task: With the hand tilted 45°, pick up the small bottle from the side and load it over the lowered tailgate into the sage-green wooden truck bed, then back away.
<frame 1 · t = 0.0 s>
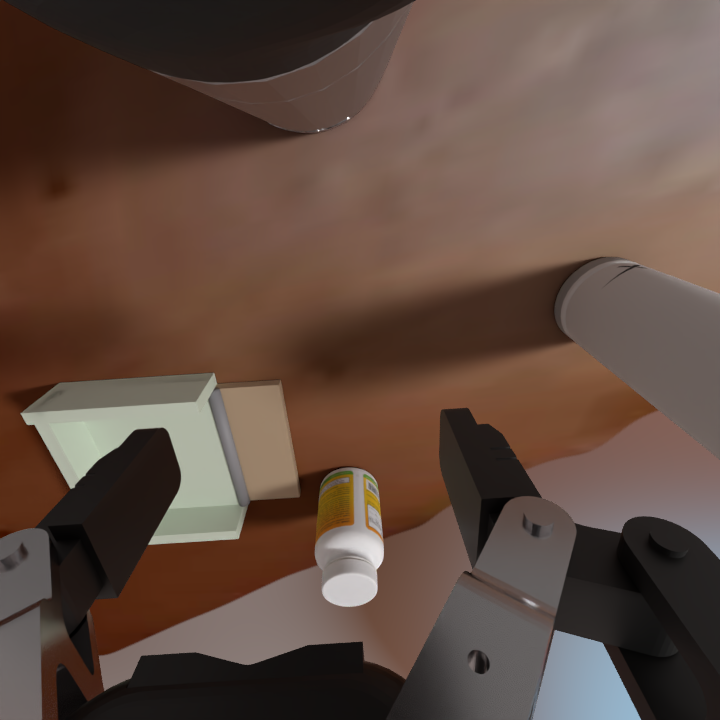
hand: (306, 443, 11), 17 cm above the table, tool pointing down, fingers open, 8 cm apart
travel mug: (593, 297, 28), on the table
truck bed: (169, 447, 33), on the table
supplement bottle: (349, 485, 36), on the table
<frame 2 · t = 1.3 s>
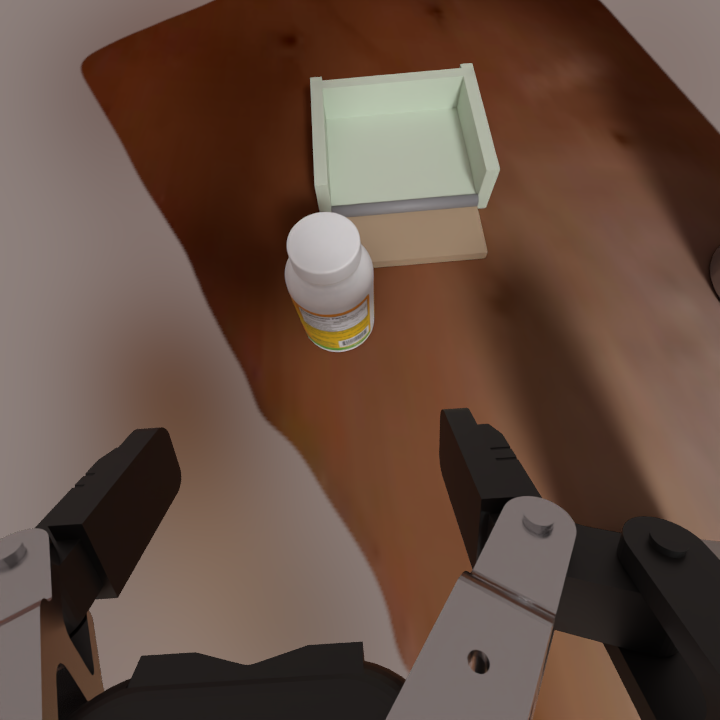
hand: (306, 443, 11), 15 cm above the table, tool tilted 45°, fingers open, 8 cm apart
truck bed: (396, 165, 35), on the table
supplement bottle: (339, 322, 30), on the table
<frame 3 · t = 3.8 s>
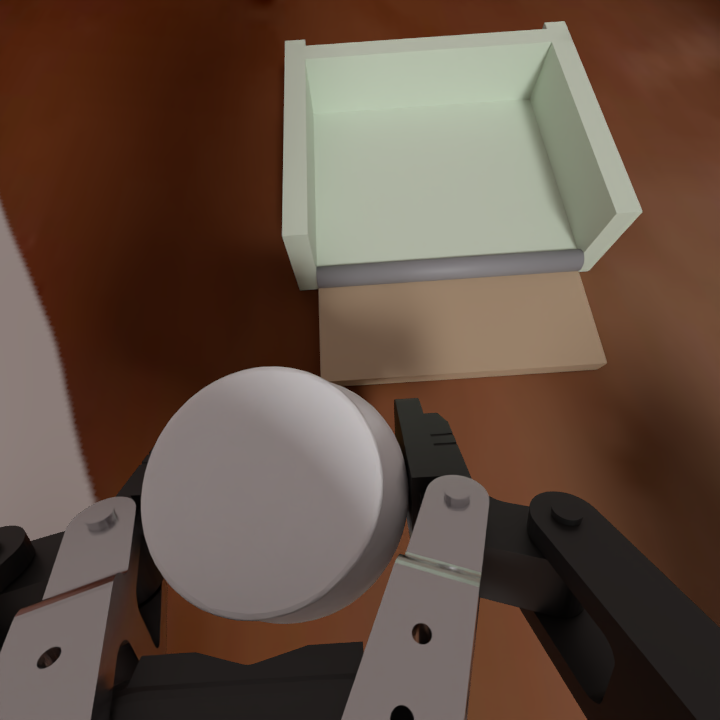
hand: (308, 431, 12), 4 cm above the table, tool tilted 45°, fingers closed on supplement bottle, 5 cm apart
truck bed: (429, 192, 21), on the table
supplement bottle: (326, 496, 15), on the table, touching gripper
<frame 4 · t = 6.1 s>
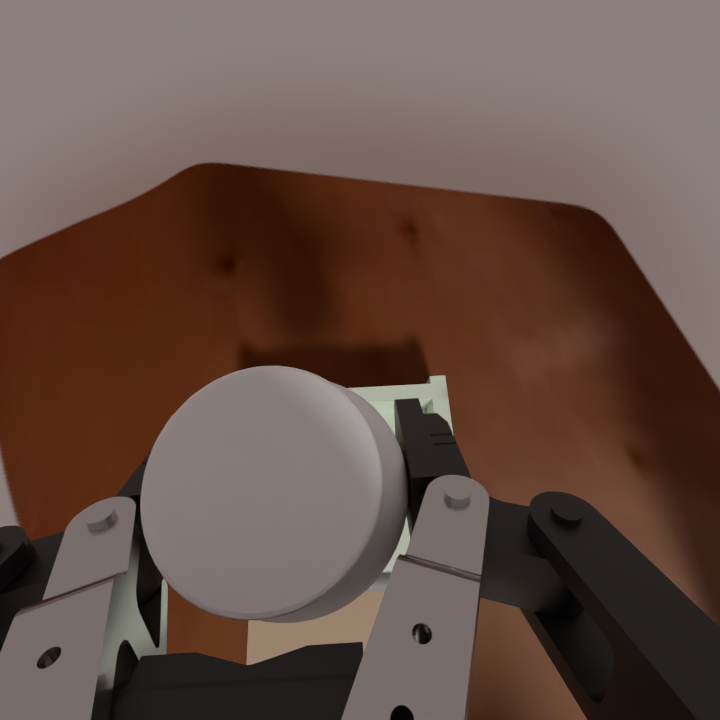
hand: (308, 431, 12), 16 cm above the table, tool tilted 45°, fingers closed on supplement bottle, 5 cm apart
truck bed: (344, 489, 26), on the table
supplement bottle: (326, 495, 15), point 11 cm above the table, touching gripper
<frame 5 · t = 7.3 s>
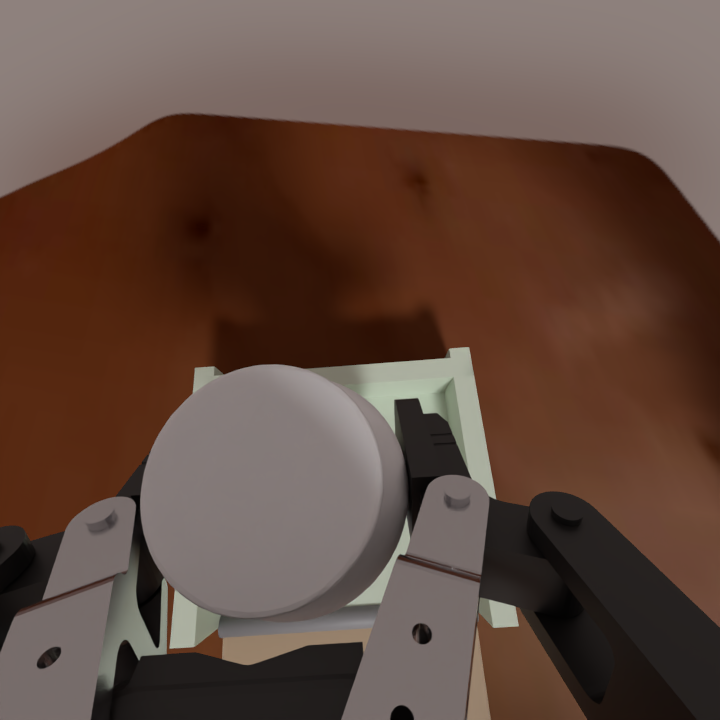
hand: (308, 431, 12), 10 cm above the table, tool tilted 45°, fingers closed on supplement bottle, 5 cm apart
truck bed: (344, 494, 21), on the table
supplement bottle: (326, 495, 15), point 6 cm above the table, touching gripper
when the fingers open (7 cm above the table, at t = 8.4 s): supplement bottle drops 1 cm, resting on truck bed.
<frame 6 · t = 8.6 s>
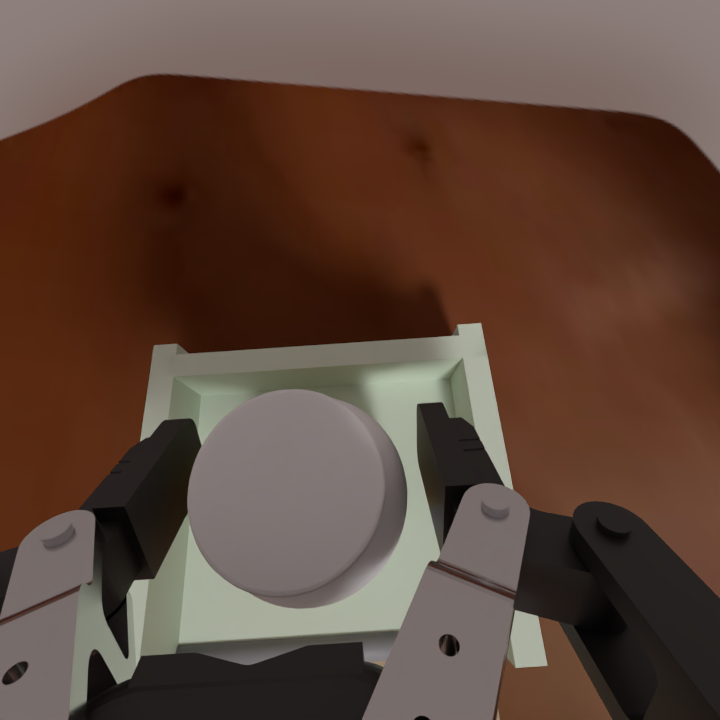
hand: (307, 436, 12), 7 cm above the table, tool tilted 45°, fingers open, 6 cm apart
truck bed: (331, 497, 18), on the table
supplement bottle: (332, 501, 17), point 1 cm above the table, touching truck bed
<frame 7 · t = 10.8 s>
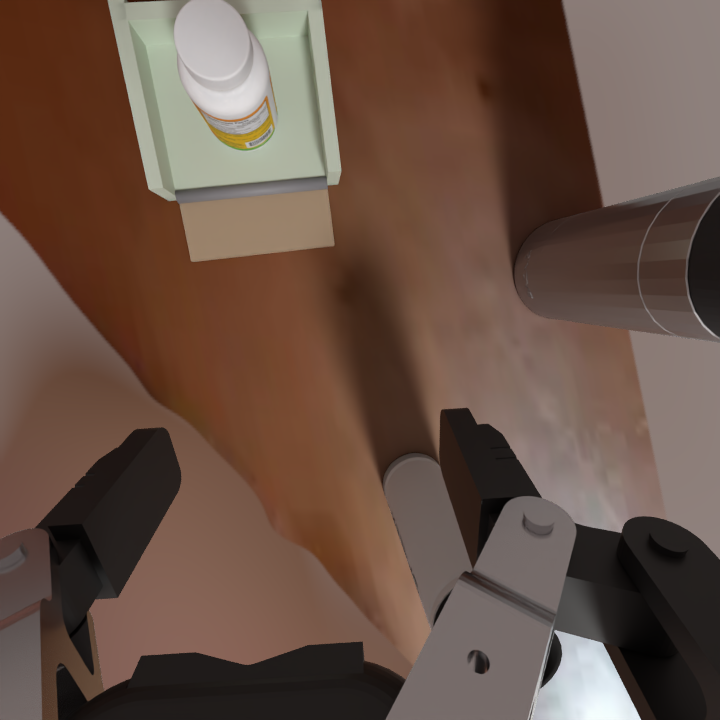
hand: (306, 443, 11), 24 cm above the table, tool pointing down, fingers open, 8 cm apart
travel mug: (412, 478, 39), on the table
truck bed: (243, 120, 31), on the table
supplement bottle: (243, 117, 30), point 1 cm above the table, touching truck bed
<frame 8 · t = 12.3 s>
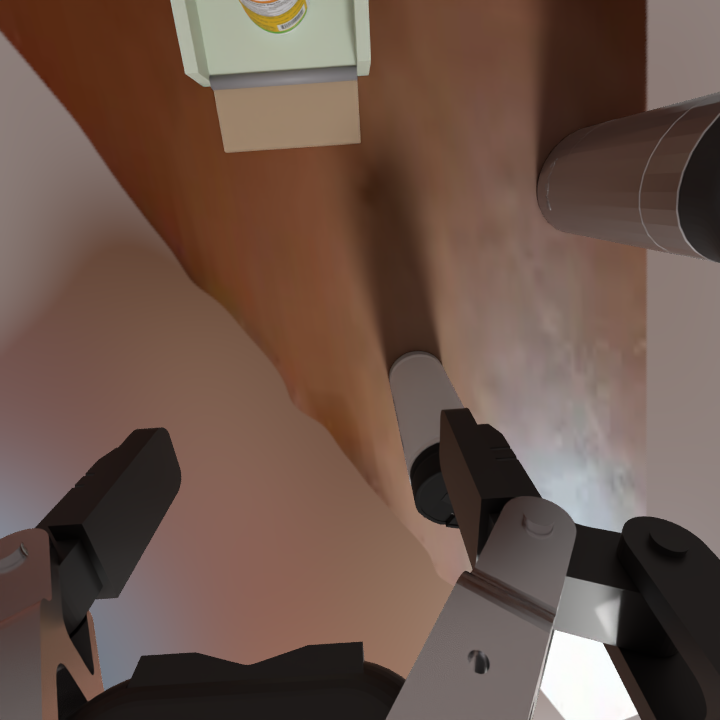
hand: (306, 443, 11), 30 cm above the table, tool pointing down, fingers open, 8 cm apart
travel mug: (416, 373, 44), on the table
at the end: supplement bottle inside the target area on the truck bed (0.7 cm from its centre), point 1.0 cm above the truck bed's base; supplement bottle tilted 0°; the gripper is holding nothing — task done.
